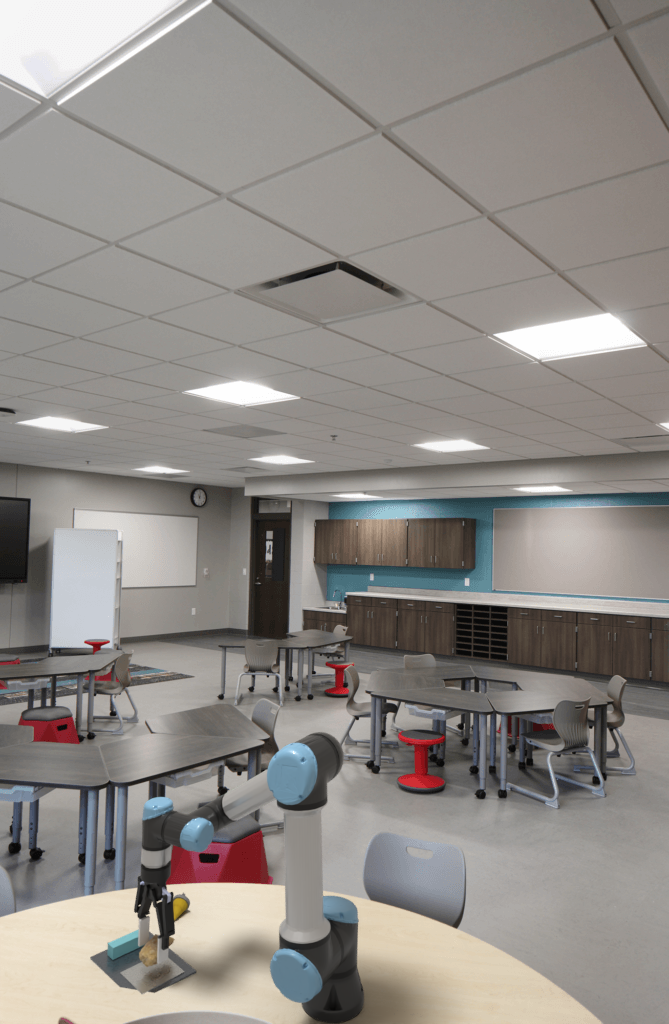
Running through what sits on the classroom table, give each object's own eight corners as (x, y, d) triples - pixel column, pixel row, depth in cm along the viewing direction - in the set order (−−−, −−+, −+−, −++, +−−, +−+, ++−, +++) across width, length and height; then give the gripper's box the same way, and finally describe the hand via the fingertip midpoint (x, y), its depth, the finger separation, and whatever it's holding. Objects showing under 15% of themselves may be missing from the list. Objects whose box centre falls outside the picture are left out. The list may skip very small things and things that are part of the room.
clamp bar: (147, 943, 177) (147, 932, 178) (112, 959, 170) (113, 948, 170) (141, 939, 180) (142, 927, 180) (107, 954, 172) (107, 943, 173)
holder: (196, 974, 167) (196, 970, 167) (135, 1007, 155) (135, 1002, 155) (148, 934, 184) (148, 929, 184) (90, 960, 172) (90, 956, 172)
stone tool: (155, 948, 162) (151, 917, 171) (135, 971, 161) (132, 939, 170) (182, 963, 165) (177, 931, 175) (162, 985, 165) (159, 952, 174)
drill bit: (194, 889, 198) (182, 918, 188) (192, 902, 199) (180, 931, 190) (177, 884, 198) (164, 913, 189) (176, 897, 200) (163, 926, 190)
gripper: (191, 872, 162) (188, 965, 161) (147, 843, 177) (144, 928, 176) (165, 882, 157) (161, 979, 156) (122, 851, 172) (118, 939, 171)
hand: (152, 952), depth 166 cm, fingers closed on stone tool, 9 cm apart
